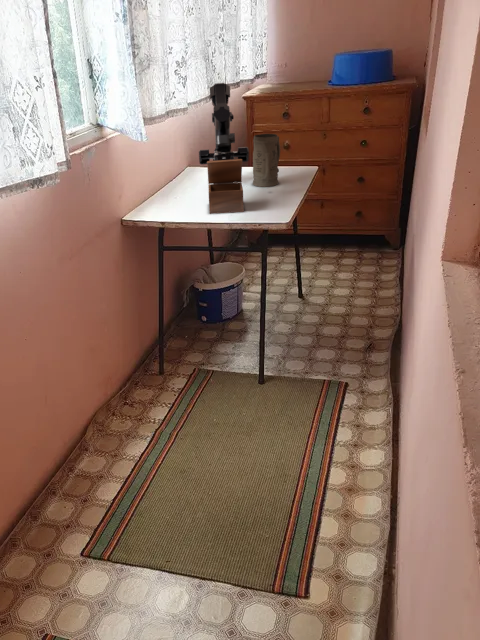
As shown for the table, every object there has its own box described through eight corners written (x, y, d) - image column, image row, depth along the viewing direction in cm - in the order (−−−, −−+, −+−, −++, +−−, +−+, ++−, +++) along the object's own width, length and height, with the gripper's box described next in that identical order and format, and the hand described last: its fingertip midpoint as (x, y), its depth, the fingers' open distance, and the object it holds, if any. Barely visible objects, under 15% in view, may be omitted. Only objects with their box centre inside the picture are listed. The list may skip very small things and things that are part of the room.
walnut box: (243, 211, 224) (243, 190, 220) (209, 213, 224) (208, 192, 220) (241, 202, 234) (241, 182, 230) (209, 204, 235) (208, 184, 231)
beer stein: (270, 188, 251) (272, 136, 242) (247, 186, 256) (248, 135, 247) (286, 182, 262) (288, 132, 253) (263, 180, 267) (265, 131, 258)
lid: (242, 160, 217) (242, 158, 217) (207, 162, 218) (207, 160, 218) (241, 182, 230) (241, 180, 230) (208, 184, 231) (208, 182, 231)
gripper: (197, 127, 223) (198, 164, 220) (248, 123, 223) (250, 161, 219) (198, 145, 234) (200, 181, 230) (247, 142, 233) (249, 178, 230)
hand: (224, 175), depth 227 cm, fingers closed
